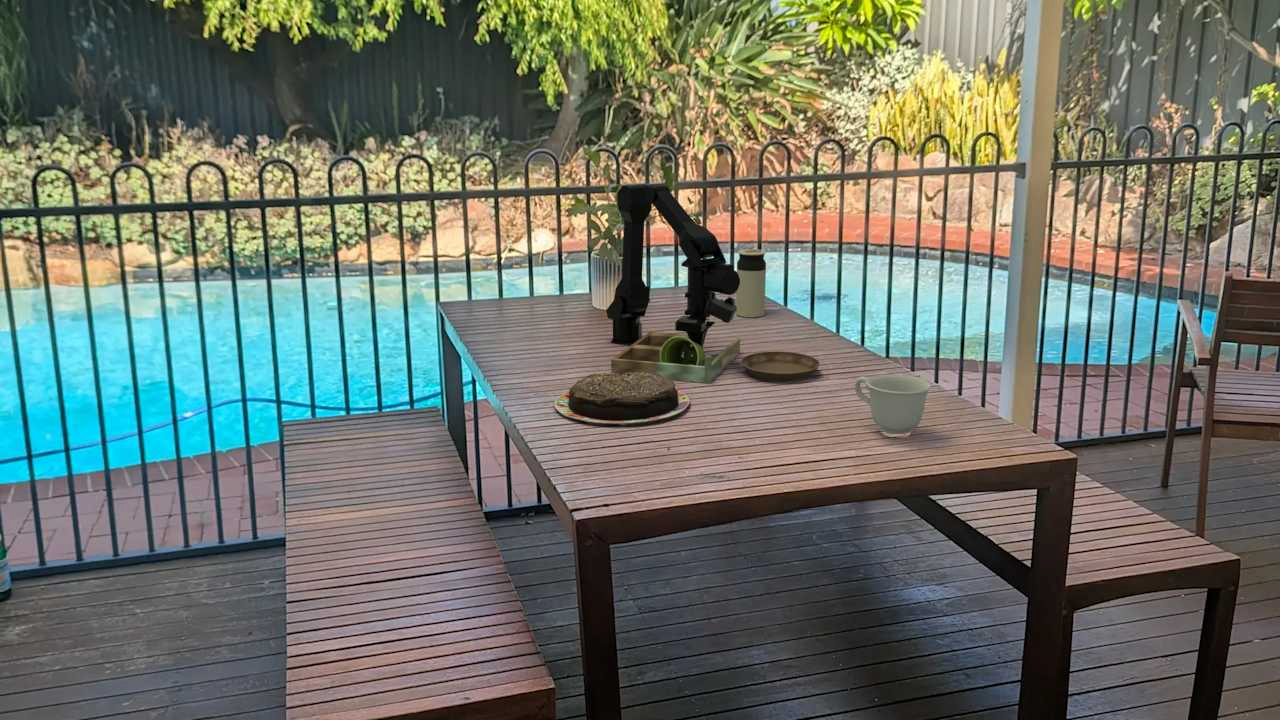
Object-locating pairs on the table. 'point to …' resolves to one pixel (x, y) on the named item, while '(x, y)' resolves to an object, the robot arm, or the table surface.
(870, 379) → the teacup
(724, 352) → the compartment box
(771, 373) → the plant saucer
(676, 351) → the plant pot
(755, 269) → the travel mug
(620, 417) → the chocolate cake
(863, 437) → the table surface
